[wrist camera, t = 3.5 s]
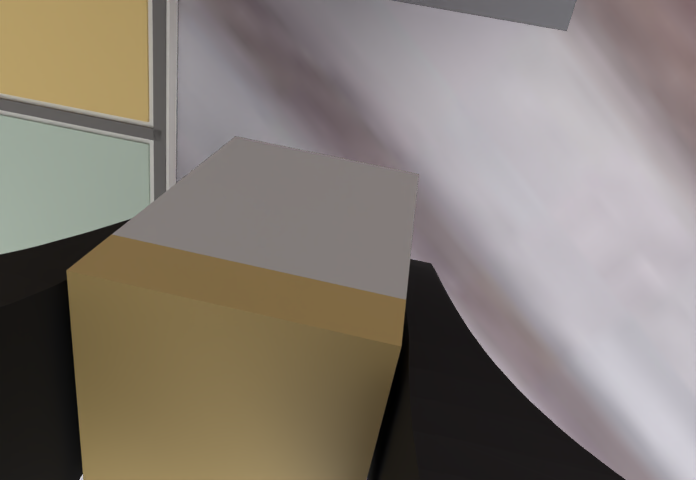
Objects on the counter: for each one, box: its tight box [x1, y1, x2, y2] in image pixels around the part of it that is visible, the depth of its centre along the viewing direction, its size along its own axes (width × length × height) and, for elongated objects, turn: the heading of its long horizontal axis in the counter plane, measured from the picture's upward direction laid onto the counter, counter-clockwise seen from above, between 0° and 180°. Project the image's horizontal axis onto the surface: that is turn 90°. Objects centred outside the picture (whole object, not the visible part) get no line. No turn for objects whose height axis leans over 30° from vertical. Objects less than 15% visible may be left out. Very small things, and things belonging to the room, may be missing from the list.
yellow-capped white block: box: [66, 136, 419, 480], centre depth 10 cm, size 4×4×6 cm
